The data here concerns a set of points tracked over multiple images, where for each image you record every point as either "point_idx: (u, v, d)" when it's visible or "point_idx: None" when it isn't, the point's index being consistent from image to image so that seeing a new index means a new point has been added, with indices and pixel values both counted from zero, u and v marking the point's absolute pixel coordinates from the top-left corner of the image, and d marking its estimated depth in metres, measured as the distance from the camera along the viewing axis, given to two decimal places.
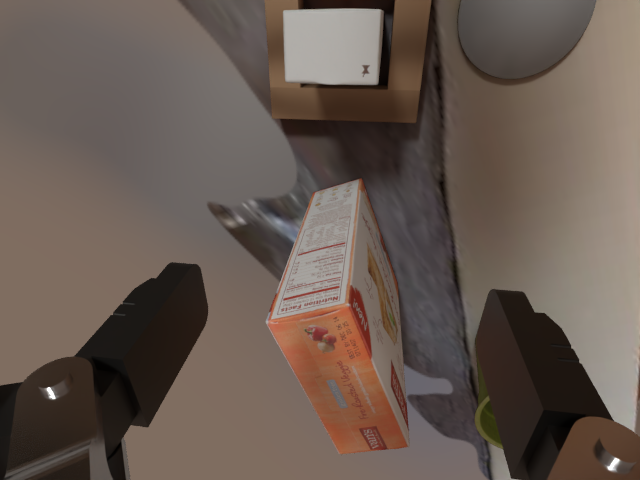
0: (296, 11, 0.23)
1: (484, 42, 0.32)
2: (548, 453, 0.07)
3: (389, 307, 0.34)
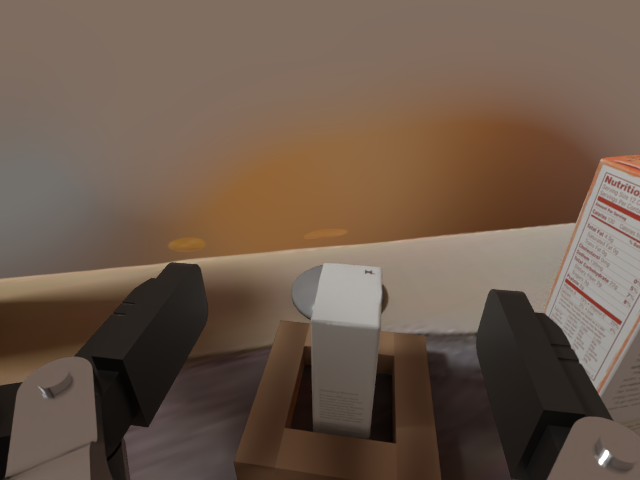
0: (313, 310, 0.23)
1: None
2: (548, 453, 0.07)
3: None
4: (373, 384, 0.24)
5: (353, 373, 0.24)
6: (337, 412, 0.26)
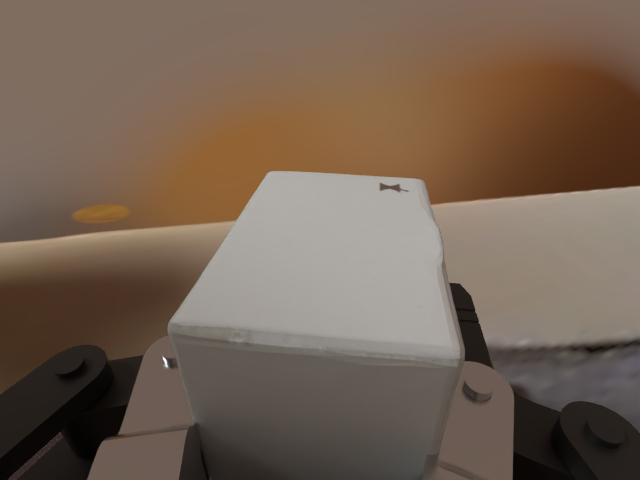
0: (193, 288, 0.06)
1: None
2: None
3: None
4: None
5: None
6: None
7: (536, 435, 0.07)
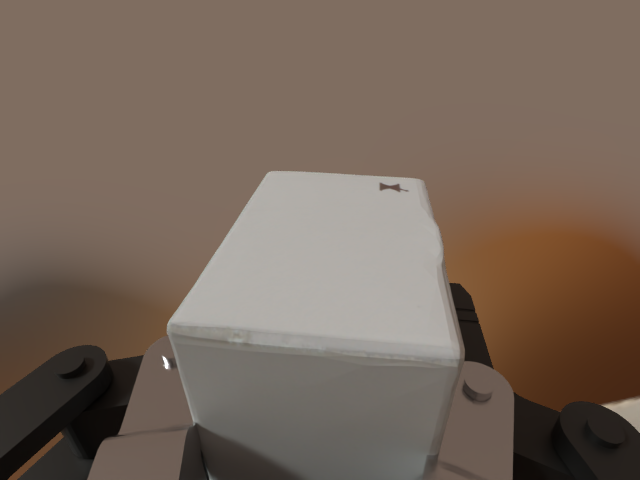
0: (192, 289, 0.06)
1: None
2: None
3: None
4: None
5: None
6: None
7: (536, 435, 0.07)
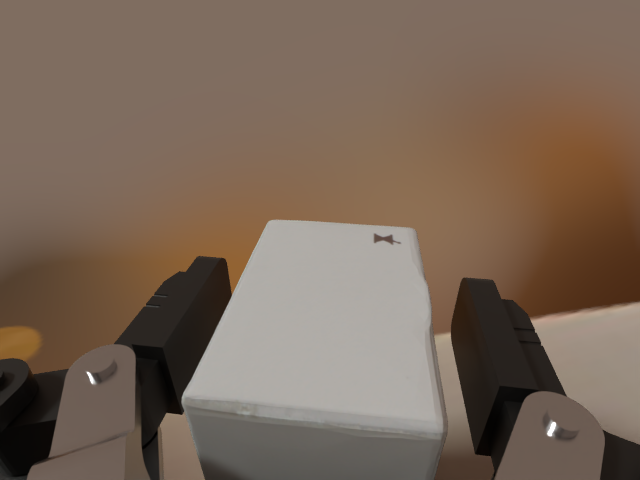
0: (203, 357, 0.07)
1: None
2: (504, 427, 0.07)
3: None
4: None
5: None
6: None
7: (630, 476, 0.06)
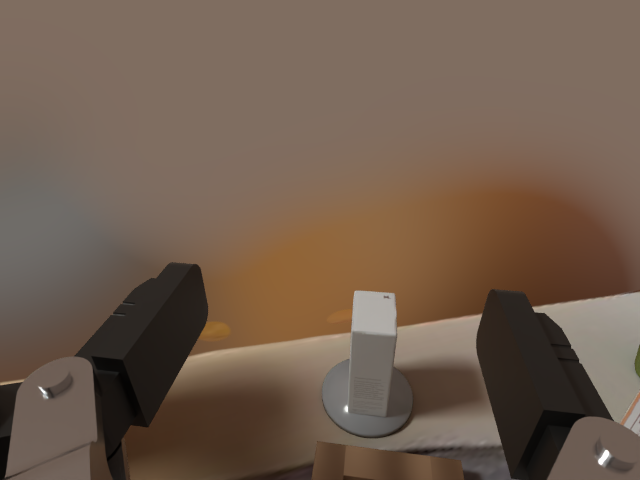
0: (352, 324, 0.35)
1: (388, 415, 0.40)
2: (548, 453, 0.07)
3: None
4: (391, 372, 0.36)
5: (378, 365, 0.36)
6: (366, 392, 0.38)
7: None
